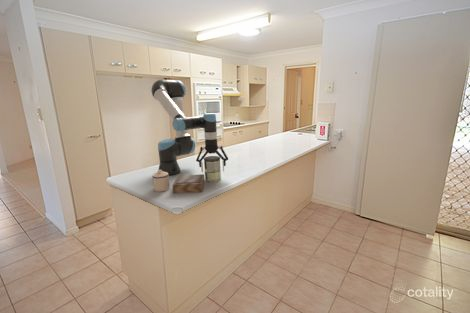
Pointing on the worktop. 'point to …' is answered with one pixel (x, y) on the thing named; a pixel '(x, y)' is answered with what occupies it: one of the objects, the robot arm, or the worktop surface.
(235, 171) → the worktop surface
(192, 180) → the riser block
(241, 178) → the worktop surface
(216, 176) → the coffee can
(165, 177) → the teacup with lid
